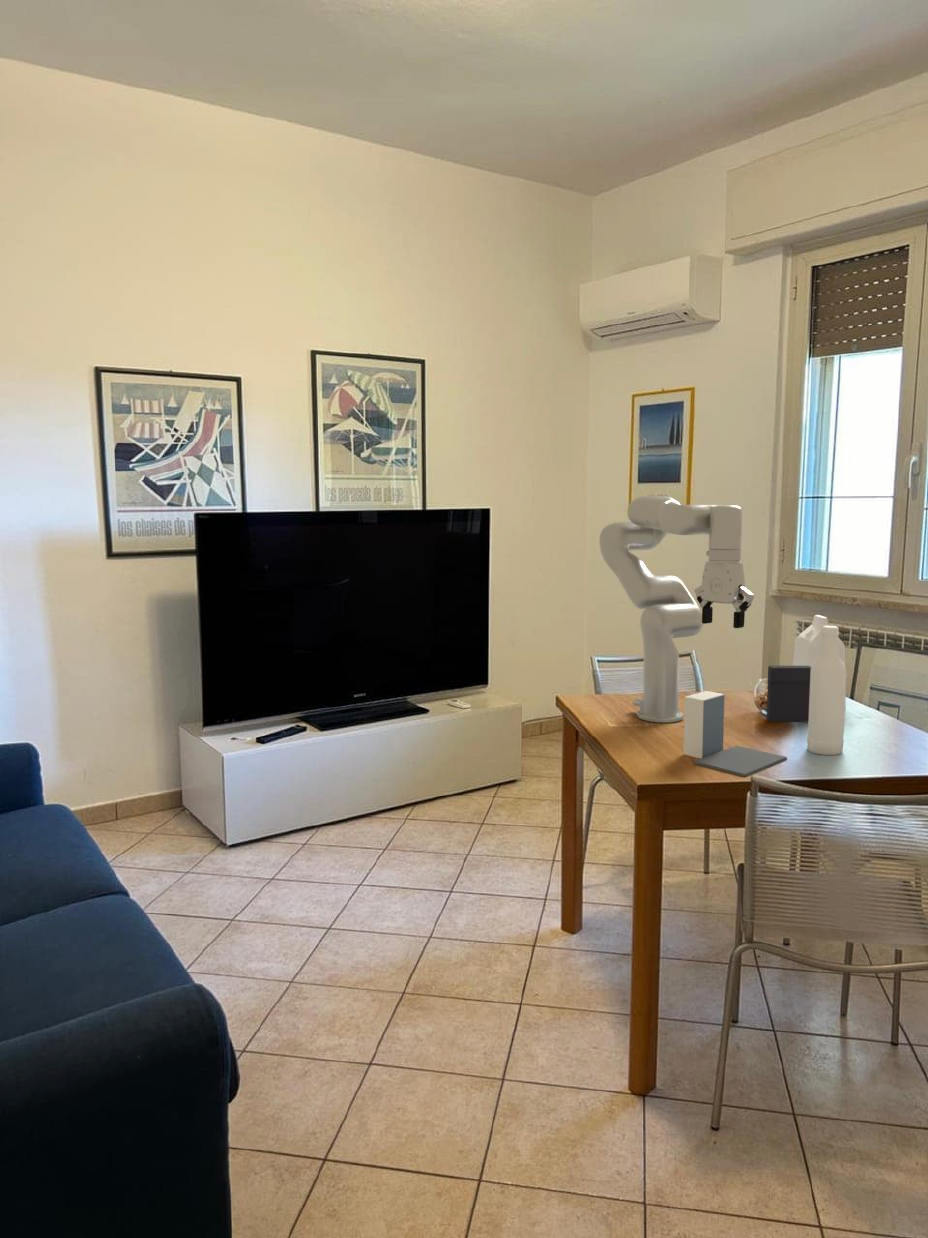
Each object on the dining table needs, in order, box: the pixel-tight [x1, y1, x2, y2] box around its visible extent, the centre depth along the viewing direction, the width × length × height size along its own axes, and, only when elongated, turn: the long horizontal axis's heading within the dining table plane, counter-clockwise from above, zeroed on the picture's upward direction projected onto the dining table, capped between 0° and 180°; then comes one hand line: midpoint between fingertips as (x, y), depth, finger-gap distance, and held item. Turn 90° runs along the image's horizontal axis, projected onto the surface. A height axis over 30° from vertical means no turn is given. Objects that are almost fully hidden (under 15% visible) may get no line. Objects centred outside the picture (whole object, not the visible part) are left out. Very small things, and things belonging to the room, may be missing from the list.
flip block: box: [683, 690, 726, 759], centre depth 203 cm, size 5×9×14 cm, turn 131°
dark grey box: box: [766, 665, 811, 723], centre depth 231 cm, size 11×4×15 cm, turn 84°
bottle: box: [806, 625, 847, 756], centre depth 202 cm, size 8×8×30 cm
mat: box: [693, 745, 788, 777], centre depth 197 cm, size 13×18×1 cm
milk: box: [792, 614, 847, 710], centre depth 248 cm, size 12×12×26 cm
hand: (722, 625), depth 211 cm, fingers open, 9 cm apart
